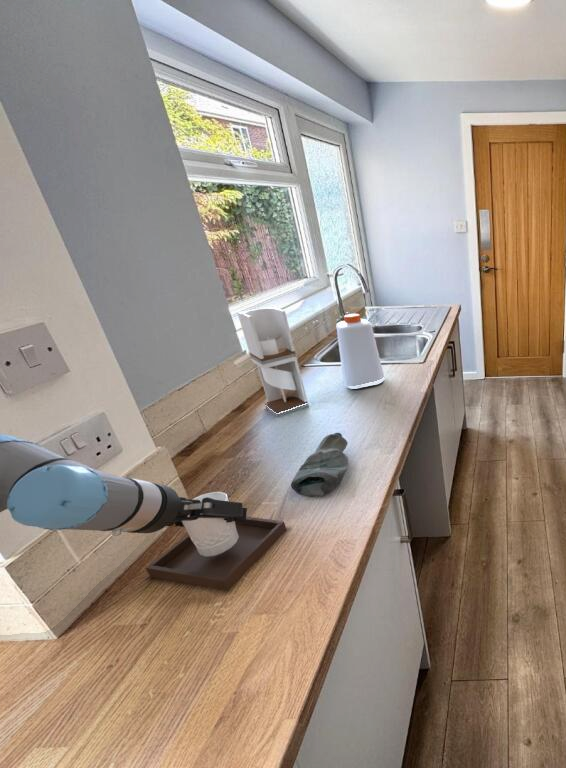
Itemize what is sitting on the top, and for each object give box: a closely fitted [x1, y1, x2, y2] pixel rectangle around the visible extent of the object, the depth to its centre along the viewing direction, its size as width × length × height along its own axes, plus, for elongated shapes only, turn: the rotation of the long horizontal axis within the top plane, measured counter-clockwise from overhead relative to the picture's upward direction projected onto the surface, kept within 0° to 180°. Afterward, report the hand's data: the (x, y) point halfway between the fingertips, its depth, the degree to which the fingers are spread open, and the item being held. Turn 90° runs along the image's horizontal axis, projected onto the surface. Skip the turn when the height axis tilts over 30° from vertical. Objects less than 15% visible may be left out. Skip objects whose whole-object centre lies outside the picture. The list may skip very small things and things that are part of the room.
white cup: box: [182, 491, 239, 557], centre depth 80 cm, size 8×8×10 cm
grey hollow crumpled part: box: [290, 432, 349, 498], centre depth 107 cm, size 13×7×25 cm
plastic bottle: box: [335, 313, 385, 386], centre depth 160 cm, size 15×15×28 cm
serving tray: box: [145, 516, 287, 591], centre depth 82 cm, size 18×16×2 cm
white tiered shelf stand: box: [237, 306, 309, 418], centre depth 139 cm, size 11×11×35 cm
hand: (222, 517), depth 83 cm, fingers closed on white cup, 8 cm apart
